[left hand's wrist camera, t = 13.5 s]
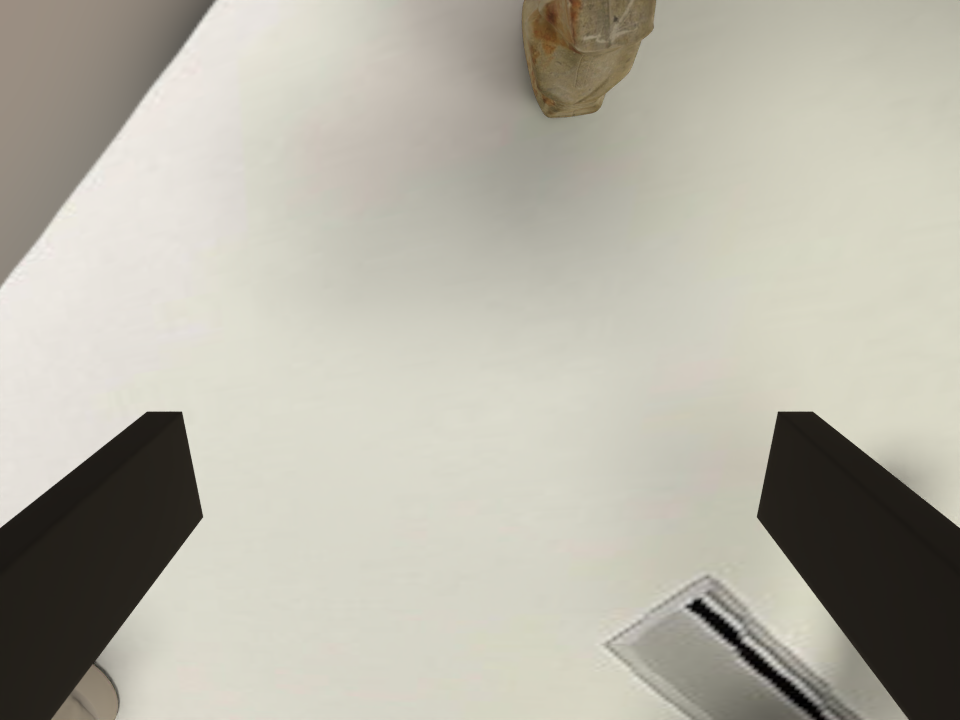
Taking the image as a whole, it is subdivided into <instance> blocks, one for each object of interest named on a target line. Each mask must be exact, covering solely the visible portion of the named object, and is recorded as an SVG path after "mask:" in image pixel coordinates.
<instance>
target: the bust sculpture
mask: <svg viewBox="0 0 960 720" xmlns="http://www.w3.org/2000/svg"><path fill="white" fill-rule="evenodd" d="M117 711H118V699H117V695H116V692H115V690H114V687H113V686H112V684H111V682H110V681H109V679H108V678H107V677H106V676H105V675H104V674H103V673H102V672H101V671H100V670H99V669H98V668H97V667H96V666H95V665H92V666H91V667H90V669H89V670H88V671H87V673H86V674H85V675H84V677H83V678H82V679H81V680H80V682H79V683H78V684H77V686H76V687H75V688H74V690H73V691H72V692H71V694H70V695H69V696H68V698H67V699H66V700H65V702H64V703H63V704H62V706H61V707H60V708H59V710H58V711H57V712H56V714H55V715H54V716H53V718H52V719H51V720H115V718H116V715H117Z"/></svg>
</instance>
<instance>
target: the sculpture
mask: <svg viewBox="0 0 960 720" xmlns="http://www.w3.org/2000/svg"><path fill="white" fill-rule="evenodd" d="M655 5H656V0H524V4H523V10H522V31H523V43H524V49H525V54H526V60H527V65H528V70H529V75H530V79H531V83H532V87H533V91H534V94H535V97H536V99H537V102H538V104H539V106H540V108H541V110H542V112H543V113H544V114H545V116H547V117H550V118H557V117H571V116H578V115H584V114H590V113H594V112H596V111H597V110H598V109H599V108H600V107H601V105H602V102H603V99H604V96H605V93H607V92H608V91H609V90H610V89H611V88H612V87H614V86H615V85H616V84H617V83H618V82H620V81H621V80H622V79H623V78H624V77H625V76H626V75H627V74H628V73H629V71H630V69H631V68H632V65H633V63H634V60H635V57H636V54H637V52H638V49H639V46H640V43H641V40H642V39H644V38H645V37H646V36H648V35H649V34H650V33H651V32H652V30H653V28H654V25H653V21H654V13H655Z"/></svg>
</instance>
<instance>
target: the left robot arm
mask: <svg viewBox="0 0 960 720" xmlns="http://www.w3.org/2000/svg"><path fill="white" fill-rule="evenodd" d="M202 518H203V514H202V509H201V504H200V499H199V494H198V489H197V484H196V479H195V474H194V469H193V464H192V459H191V454H190V449H189V444H188V439H187V434H186V429H185V424H184V419H183V414H182V412H146V413H145V414H144V415H142V416H141V417H140V418H139V419H137V420H136V421H135V422H134V423H132V424H131V425H130V426H128V427H127V428H126V429H125V430H123V431H122V432H121V433H120V434H118V435H117V436H116V437H115V438H113V439H112V440H111V441H110V442H108V443H107V444H106V445H104V446H103V447H102V448H101V449H99V450H98V451H97V452H96V453H94V454H93V455H92V456H91V457H89V458H88V459H87V460H86V461H84V462H83V463H82V464H81V465H79V466H78V467H77V468H75V469H74V470H73V471H72V472H70V473H69V474H68V475H67V476H65V477H64V478H63V479H62V480H60V481H59V482H58V483H57V484H55V485H54V486H53V487H51V488H50V489H49V490H48V491H46V492H45V493H44V494H43V495H41V496H40V497H39V498H38V499H36V500H35V501H34V502H33V503H31V504H30V505H29V506H28V507H26V508H25V509H24V510H22V511H21V512H20V513H19V514H17V515H16V516H15V517H14V518H12V519H11V520H10V521H9V522H7V523H6V524H5V525H4V526H2V527H1V528H0V720H51V719H52V718H53V716H54V715H55V714H56V712H57V711H58V710H59V708H60V707H61V706H62V704H63V703H64V702H65V700H66V699H67V698H68V696H69V695H70V694H71V692H72V691H73V690H74V688H75V687H76V686H77V684H78V683H79V682H80V680H81V679H82V678H83V677H84V675H85V674H86V673H87V671H88V670H89V669H90V667H91V666H92V665H93V663H94V662H95V661H96V659H97V658H98V657H99V655H100V654H101V653H102V651H103V650H104V649H105V647H106V646H107V645H108V643H109V642H110V641H111V639H112V638H113V637H114V635H115V634H116V633H117V631H118V630H119V629H120V627H121V626H122V625H123V623H124V622H125V621H126V619H127V618H128V617H129V615H130V614H131V613H132V611H133V610H134V609H135V607H136V606H137V605H138V603H139V602H140V601H141V599H142V598H143V597H144V595H145V594H146V593H147V591H148V590H149V589H150V587H151V586H152V585H153V583H154V582H155V581H156V579H157V578H158V577H159V575H160V574H161V573H162V571H163V570H164V569H165V567H166V566H167V565H168V563H169V562H170V561H171V559H172V558H173V557H174V555H175V554H176V553H177V551H178V550H179V549H180V547H181V546H182V545H183V543H184V542H185V541H186V539H187V538H188V537H189V535H190V534H191V533H192V531H193V530H194V529H195V527H196V526H197V525H198V523H199V522H200V521H201V519H202ZM757 518H758V519H759V521H760V522H761V523H762V525H763V526H764V527H765V529H766V530H767V531H768V533H769V534H770V535H771V537H772V538H773V539H774V541H775V542H776V543H777V545H778V546H779V547H780V549H781V550H782V551H783V553H784V554H785V555H786V557H787V558H788V559H789V561H790V562H791V563H792V565H793V566H794V567H795V569H796V570H797V571H798V573H799V574H800V575H801V577H802V578H803V579H804V581H805V582H806V583H807V585H808V586H809V587H810V589H811V590H812V591H813V593H814V594H815V595H816V597H817V598H818V599H819V601H820V602H821V603H822V605H823V606H824V607H825V609H826V610H827V611H828V613H829V614H830V615H831V617H832V618H833V619H834V621H835V622H836V623H837V625H838V626H839V627H840V629H841V630H842V631H843V633H844V634H845V635H846V637H847V638H848V639H849V641H850V642H851V643H852V645H853V646H854V647H855V649H856V650H857V651H858V653H859V654H860V655H861V657H862V658H863V659H864V661H865V662H866V663H867V665H868V666H869V667H870V669H871V670H872V671H873V673H874V674H875V675H876V677H877V678H878V679H879V680H880V682H881V683H882V684H883V686H884V687H885V688H886V690H887V691H888V692H889V694H890V695H891V696H892V698H893V699H894V700H895V702H896V703H897V704H898V706H899V707H900V708H901V710H902V711H903V712H904V714H905V715H906V716H907V718H908V719H909V720H960V528H959V527H958V526H956V525H955V524H954V523H953V522H951V521H950V520H949V519H948V518H946V517H945V516H944V515H943V514H941V513H940V512H939V511H938V510H936V509H935V508H934V507H932V506H931V505H930V504H929V503H927V502H926V501H925V500H924V499H922V498H921V497H920V496H919V495H917V494H916V493H915V492H914V491H912V490H911V489H910V488H909V487H907V486H906V485H905V484H903V483H902V482H901V481H900V480H898V479H897V478H896V477H895V476H893V475H892V474H891V473H890V472H888V471H887V470H886V469H885V468H883V467H882V466H881V465H879V464H878V463H877V462H876V461H874V460H873V459H872V458H871V457H869V456H868V455H867V454H866V453H864V452H863V451H862V450H861V449H859V448H858V447H857V446H855V445H854V444H853V443H852V442H850V441H849V440H848V439H847V438H845V437H844V436H843V435H842V434H840V433H839V432H838V431H837V430H835V429H834V428H833V427H832V426H830V425H829V424H828V423H826V422H825V421H824V420H823V419H821V418H820V417H819V416H818V415H816V414H815V413H814V412H778V414H777V419H776V424H775V429H774V434H773V439H772V444H771V449H770V454H769V459H768V464H767V469H766V474H765V479H764V484H763V489H762V494H761V499H760V504H759V509H758V514H757Z"/></svg>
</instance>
